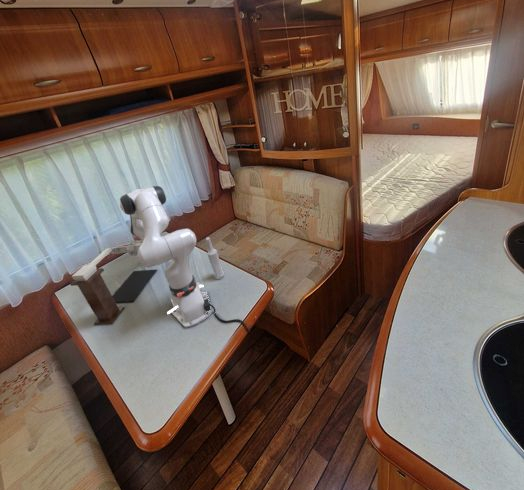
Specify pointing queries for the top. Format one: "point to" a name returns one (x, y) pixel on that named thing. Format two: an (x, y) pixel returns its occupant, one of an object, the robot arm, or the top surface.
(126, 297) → the counter mat
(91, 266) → the brush
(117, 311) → the stand
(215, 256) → the bottle
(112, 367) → the top surface
